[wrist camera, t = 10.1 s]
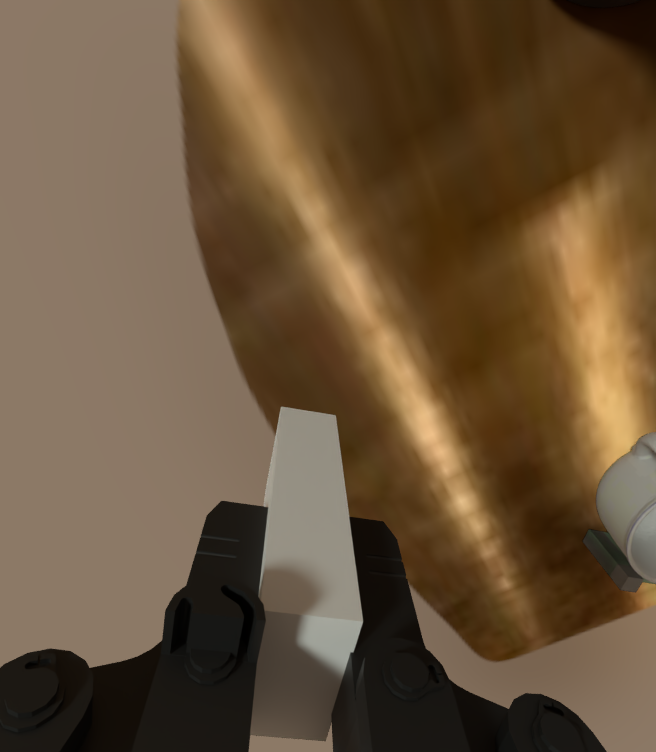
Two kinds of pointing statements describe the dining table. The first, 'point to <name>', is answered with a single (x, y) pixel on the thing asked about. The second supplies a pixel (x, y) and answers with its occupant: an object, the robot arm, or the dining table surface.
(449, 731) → the robot arm
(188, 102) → the dining table surface
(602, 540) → the tray
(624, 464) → the teacup
